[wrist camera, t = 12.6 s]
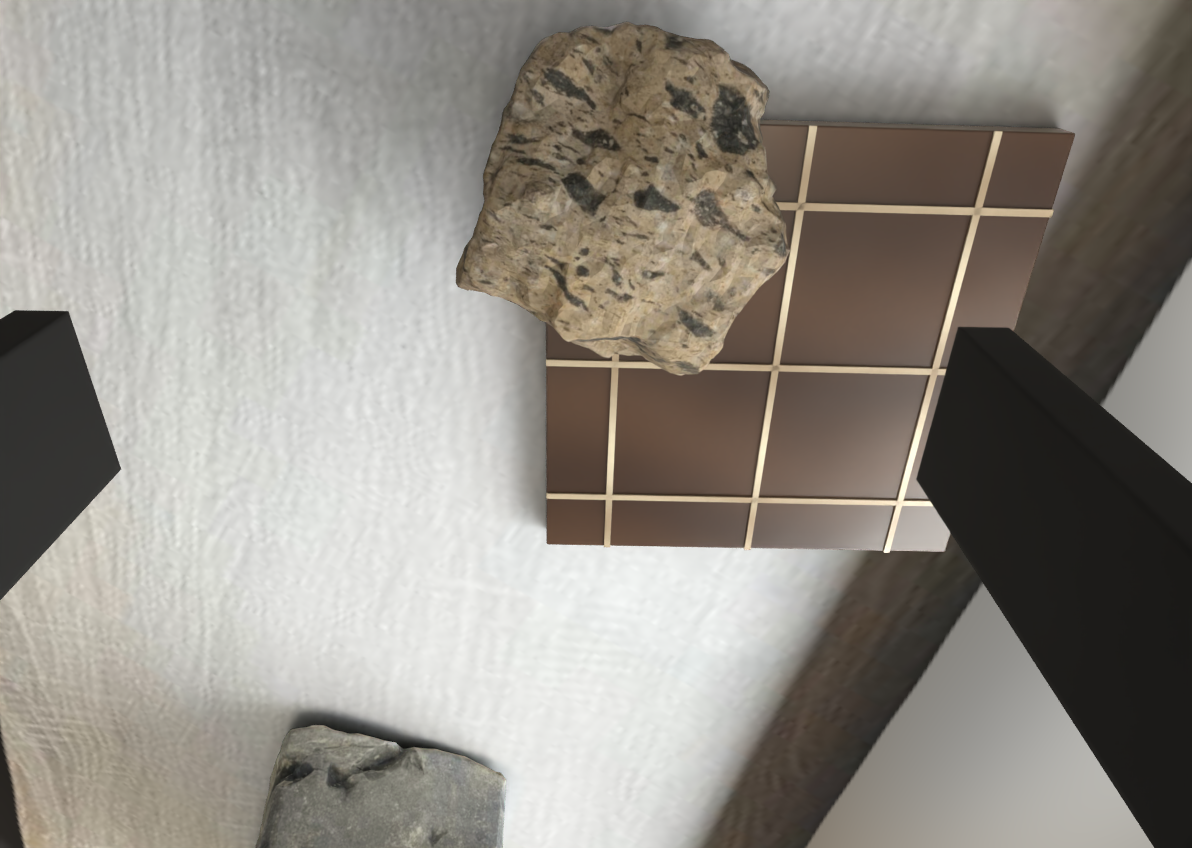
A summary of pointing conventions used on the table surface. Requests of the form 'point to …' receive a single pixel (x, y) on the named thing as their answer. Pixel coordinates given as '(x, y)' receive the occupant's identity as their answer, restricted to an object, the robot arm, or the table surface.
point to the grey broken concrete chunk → (378, 795)
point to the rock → (630, 195)
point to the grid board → (813, 352)
